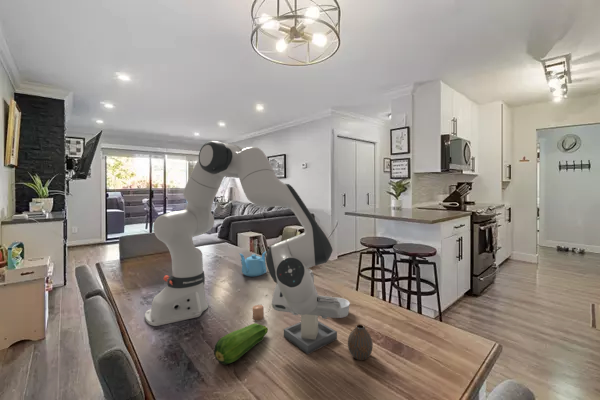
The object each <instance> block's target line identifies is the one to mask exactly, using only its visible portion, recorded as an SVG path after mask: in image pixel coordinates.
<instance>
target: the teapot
mask: <svg viewBox="0 0 600 400" xmlns="http://www.w3.org/2000/svg"><path fill="white" fill-rule="evenodd" d="M238 254H239V255H240V258H241V259H240V261H241V273H242V274H243V275H244V276H246V277H252V278H254V277H260V276H263V275H264V274H266V273H267V263H266V254H267V251H266V250H265V251H264V252H263V253H262V254H261V256H259V255H257V254H251V255H250V256H248V257H246V258H245V255H244V254H243V253H241V252H240V253H239V252H238Z"/></svg>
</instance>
